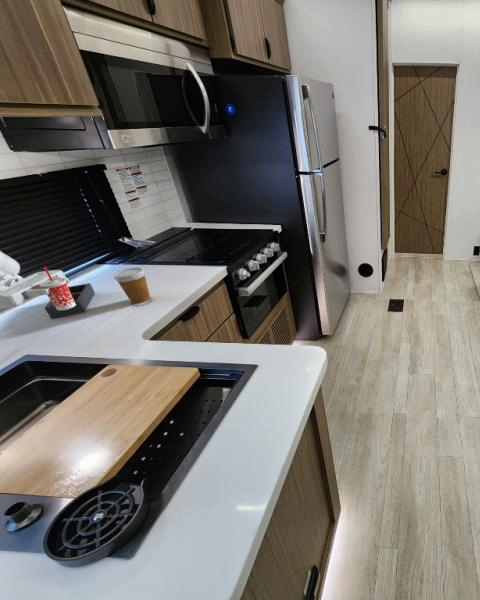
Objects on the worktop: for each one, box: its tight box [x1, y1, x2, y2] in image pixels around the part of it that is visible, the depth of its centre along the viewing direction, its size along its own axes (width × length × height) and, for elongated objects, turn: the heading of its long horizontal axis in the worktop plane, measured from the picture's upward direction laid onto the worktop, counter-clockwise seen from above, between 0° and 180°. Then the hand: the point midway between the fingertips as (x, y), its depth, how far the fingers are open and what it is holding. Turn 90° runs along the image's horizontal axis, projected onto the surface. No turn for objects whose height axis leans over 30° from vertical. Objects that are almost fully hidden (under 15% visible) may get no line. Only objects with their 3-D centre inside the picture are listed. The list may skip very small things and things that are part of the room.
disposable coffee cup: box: [114, 267, 151, 304], centre depth 128 cm, size 10×10×12 cm
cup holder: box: [44, 282, 96, 320], centre depth 127 cm, size 10×18×5 cm, turn 30°
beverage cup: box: [39, 266, 76, 310], centre depth 104 cm, size 6×6×14 cm
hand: (58, 286), depth 104 cm, fingers closed on beverage cup, 6 cm apart
